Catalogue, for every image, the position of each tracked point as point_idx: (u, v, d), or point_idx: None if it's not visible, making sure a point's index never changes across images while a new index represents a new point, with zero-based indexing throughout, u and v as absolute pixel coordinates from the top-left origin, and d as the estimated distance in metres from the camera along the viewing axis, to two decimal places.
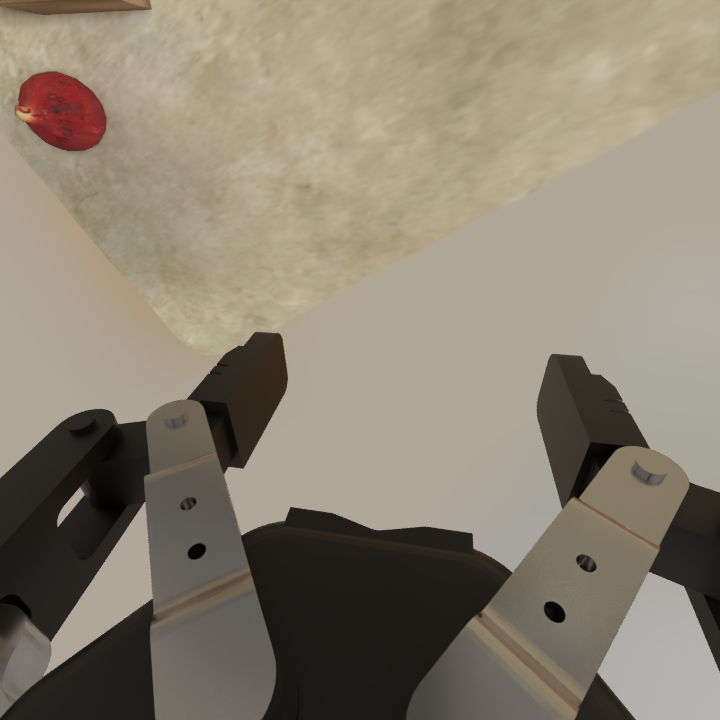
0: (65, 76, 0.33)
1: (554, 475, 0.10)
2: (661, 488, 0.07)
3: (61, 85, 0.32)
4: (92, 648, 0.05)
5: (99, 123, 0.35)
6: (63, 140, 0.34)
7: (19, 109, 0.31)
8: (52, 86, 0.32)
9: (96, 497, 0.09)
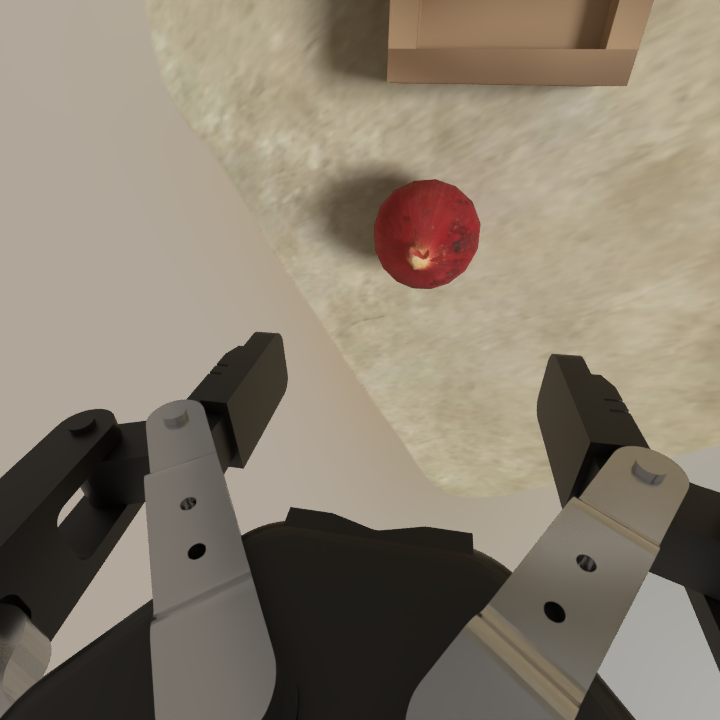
0: (455, 188, 0.21)
1: (554, 474, 0.10)
2: (661, 488, 0.07)
3: (461, 206, 0.20)
4: (92, 648, 0.05)
5: None
6: (437, 283, 0.22)
7: (418, 254, 0.19)
8: (454, 210, 0.20)
9: (96, 497, 0.09)
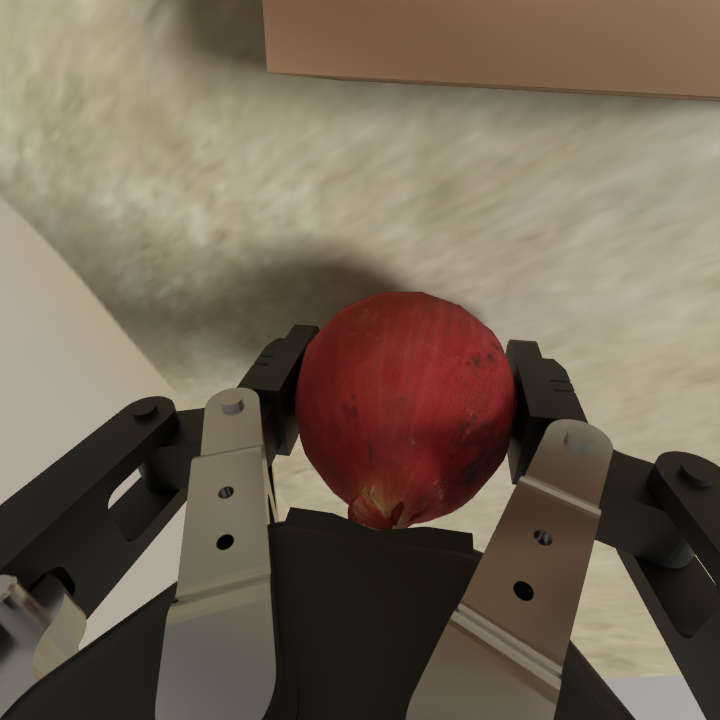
0: (463, 322, 0.09)
1: (508, 451, 0.11)
2: (586, 454, 0.08)
3: (480, 374, 0.09)
4: (92, 648, 0.05)
5: None
6: None
7: (374, 521, 0.08)
8: (463, 391, 0.08)
9: (150, 481, 0.09)
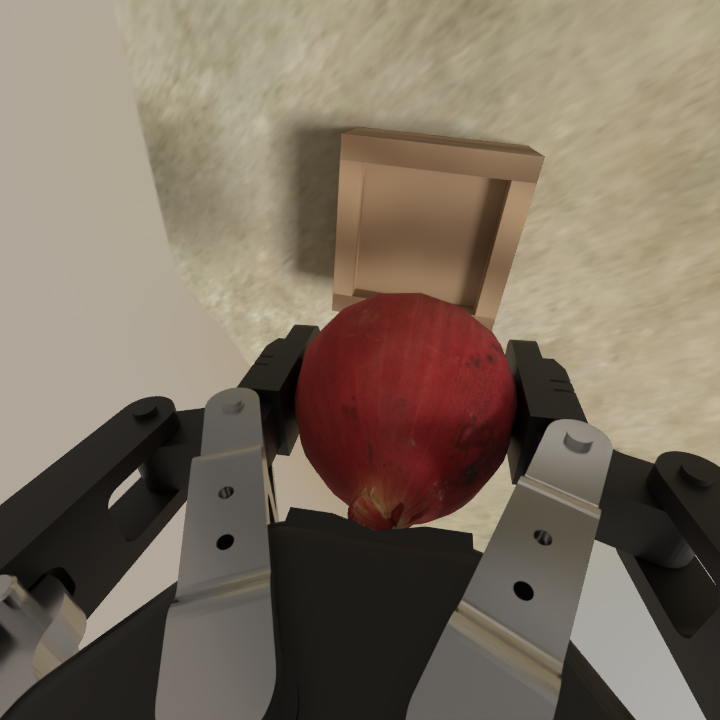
0: (463, 323, 0.09)
1: (508, 451, 0.11)
2: (586, 454, 0.08)
3: (480, 376, 0.09)
4: (92, 648, 0.05)
5: None
6: None
7: (374, 522, 0.08)
8: (463, 392, 0.08)
9: (150, 481, 0.09)
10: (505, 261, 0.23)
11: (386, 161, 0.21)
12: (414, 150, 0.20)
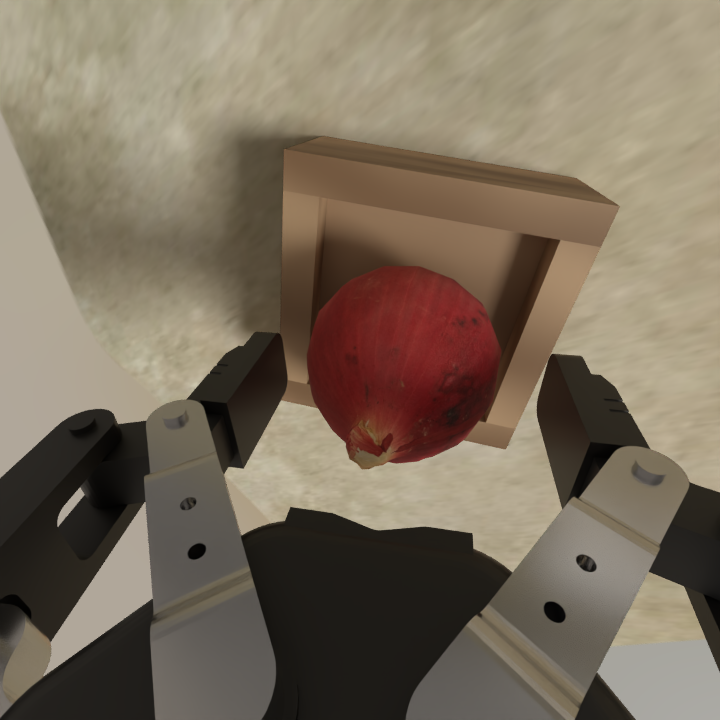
0: (453, 291, 0.11)
1: (554, 475, 0.10)
2: (661, 488, 0.07)
3: (463, 333, 0.10)
4: (92, 648, 0.05)
5: None
6: None
7: (367, 446, 0.09)
8: (448, 346, 0.10)
9: (96, 497, 0.09)
10: (538, 355, 0.15)
11: (358, 198, 0.13)
12: (403, 183, 0.12)
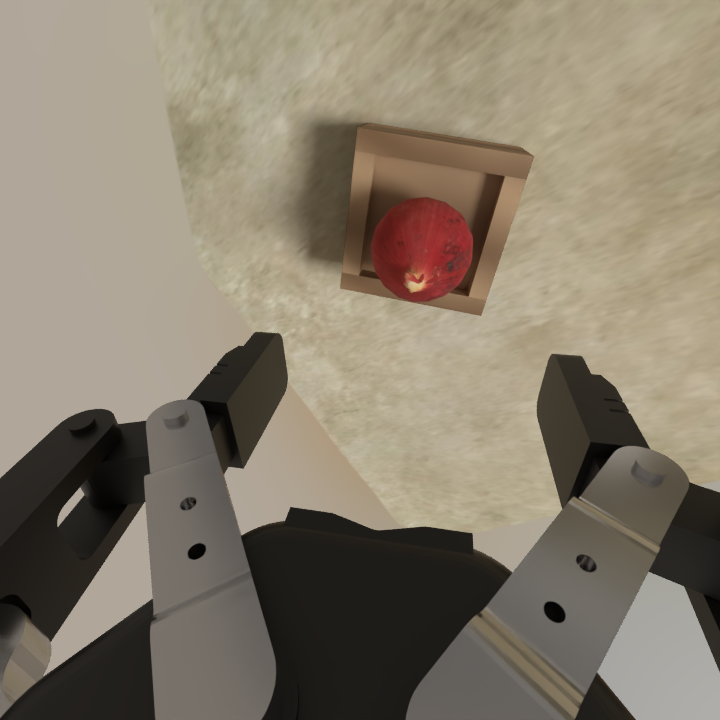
0: (446, 206, 0.22)
1: (555, 475, 0.10)
2: (661, 488, 0.07)
3: (452, 226, 0.21)
4: (92, 648, 0.05)
5: None
6: (434, 298, 0.23)
7: (413, 279, 0.20)
8: (445, 232, 0.21)
9: (96, 497, 0.09)
10: (497, 248, 0.25)
11: (396, 154, 0.24)
12: (421, 145, 0.23)
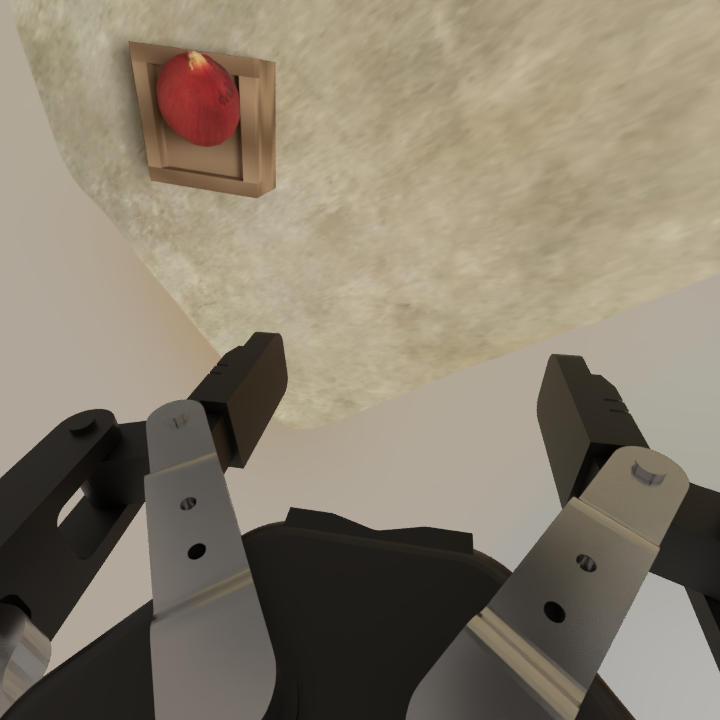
0: None
1: (554, 475, 0.10)
2: (661, 488, 0.07)
3: None
4: (92, 648, 0.05)
5: None
6: (223, 101, 0.29)
7: (194, 51, 0.27)
8: None
9: (96, 497, 0.09)
10: (250, 137, 0.33)
11: (160, 62, 0.32)
12: (175, 53, 0.31)
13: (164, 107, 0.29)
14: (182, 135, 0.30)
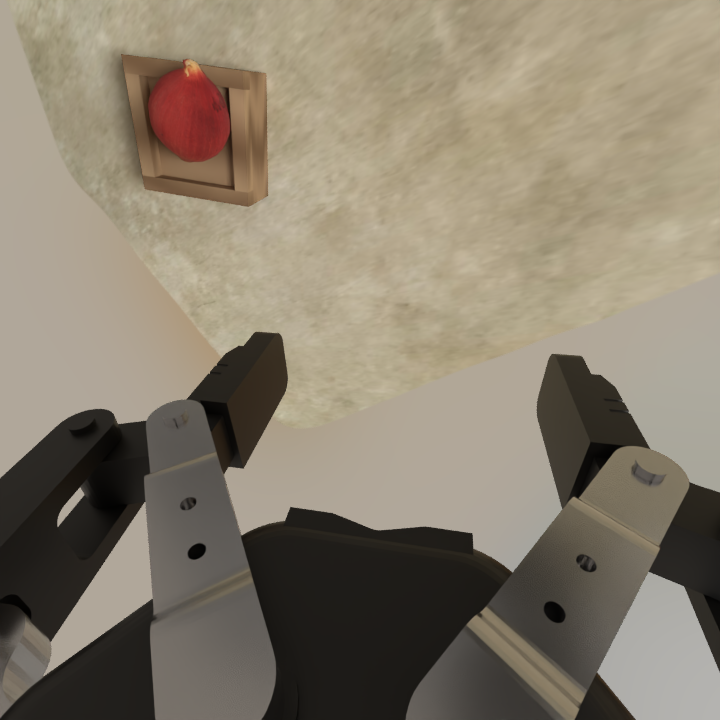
0: None
1: (555, 474, 0.10)
2: (661, 488, 0.07)
3: None
4: (92, 648, 0.05)
5: None
6: (217, 108, 0.30)
7: (190, 60, 0.28)
8: None
9: (96, 497, 0.09)
10: (241, 147, 0.34)
11: (152, 74, 0.32)
12: (167, 66, 0.32)
13: (157, 115, 0.30)
14: (173, 143, 0.31)
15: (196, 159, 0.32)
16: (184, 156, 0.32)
